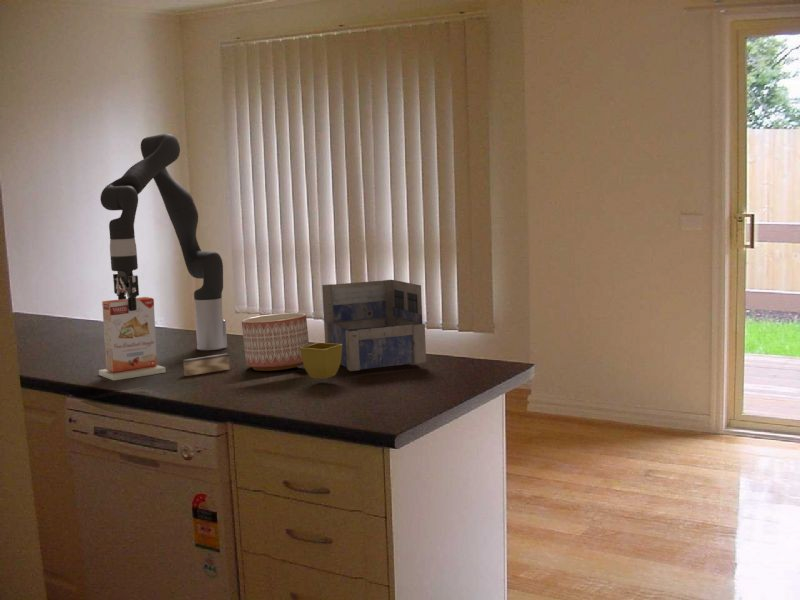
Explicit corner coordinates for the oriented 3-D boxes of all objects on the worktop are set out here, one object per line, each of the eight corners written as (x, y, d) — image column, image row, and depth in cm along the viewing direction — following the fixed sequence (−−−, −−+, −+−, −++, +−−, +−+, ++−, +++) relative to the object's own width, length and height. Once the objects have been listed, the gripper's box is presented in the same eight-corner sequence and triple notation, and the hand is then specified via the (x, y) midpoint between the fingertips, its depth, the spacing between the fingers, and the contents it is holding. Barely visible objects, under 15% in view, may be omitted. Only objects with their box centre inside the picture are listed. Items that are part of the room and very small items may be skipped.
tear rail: (227, 368, 285) (226, 353, 284) (229, 369, 284) (229, 354, 283) (184, 375, 277) (183, 359, 276) (186, 376, 275) (185, 360, 275)
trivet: (150, 367, 292) (149, 362, 292) (165, 372, 282) (165, 367, 282) (99, 374, 283) (98, 370, 282) (113, 380, 273) (112, 375, 273)
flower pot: (326, 381, 260) (324, 349, 259) (300, 379, 264) (299, 347, 263) (344, 375, 267) (343, 344, 266) (319, 373, 272) (318, 342, 271)
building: (426, 362, 283) (423, 285, 280) (350, 371, 274) (346, 291, 271) (396, 351, 304) (394, 279, 301) (325, 359, 295) (322, 285, 293)
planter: (243, 374, 273) (237, 324, 272) (250, 364, 293) (245, 316, 291) (309, 368, 274) (304, 317, 273) (312, 358, 293) (307, 311, 292)
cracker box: (114, 373, 276) (109, 302, 273) (105, 370, 280) (100, 300, 278) (158, 366, 285) (154, 297, 282) (149, 363, 289) (145, 295, 287)
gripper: (145, 254, 275) (149, 310, 277) (127, 252, 286) (131, 306, 288) (119, 256, 270) (124, 313, 272) (102, 254, 282) (106, 309, 284)
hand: (127, 309), depth 280 cm, fingers open, 7 cm apart
